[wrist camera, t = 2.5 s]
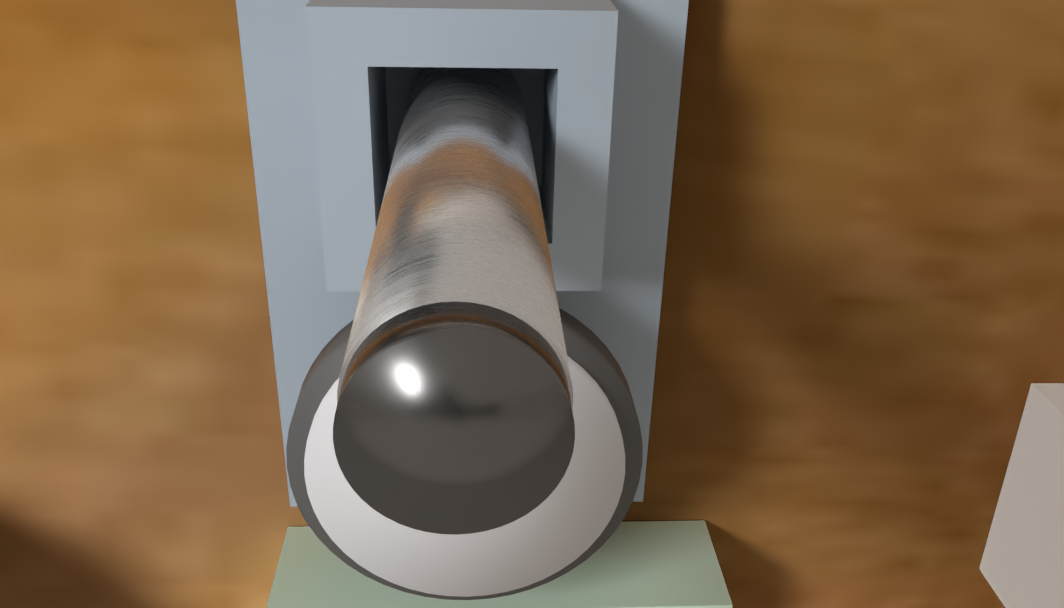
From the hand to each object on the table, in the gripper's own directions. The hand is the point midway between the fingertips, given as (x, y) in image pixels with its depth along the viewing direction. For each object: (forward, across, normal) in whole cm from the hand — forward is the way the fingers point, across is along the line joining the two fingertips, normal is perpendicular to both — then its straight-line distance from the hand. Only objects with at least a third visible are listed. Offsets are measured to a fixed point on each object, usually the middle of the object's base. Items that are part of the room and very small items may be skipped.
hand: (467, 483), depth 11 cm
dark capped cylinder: (+15, 0, 0) cm, 15 cm away
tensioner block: (+17, 0, -4) cm, 17 cm away
